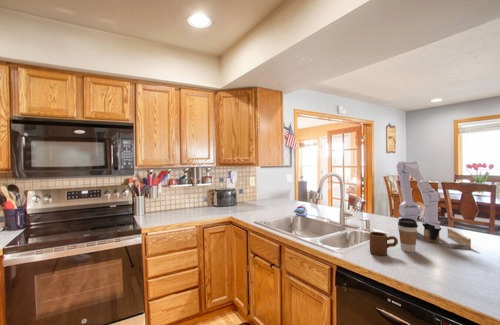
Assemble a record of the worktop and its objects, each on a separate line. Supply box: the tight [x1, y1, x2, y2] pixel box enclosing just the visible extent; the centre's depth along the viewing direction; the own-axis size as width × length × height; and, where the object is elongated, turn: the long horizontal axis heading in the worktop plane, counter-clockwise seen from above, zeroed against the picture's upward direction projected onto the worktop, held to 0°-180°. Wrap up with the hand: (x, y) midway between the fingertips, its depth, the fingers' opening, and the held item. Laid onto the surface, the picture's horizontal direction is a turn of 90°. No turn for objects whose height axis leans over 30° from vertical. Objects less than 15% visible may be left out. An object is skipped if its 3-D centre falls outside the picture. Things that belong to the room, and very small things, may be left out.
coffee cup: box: [397, 218, 419, 253], centre depth 120 cm, size 8×8×15 cm
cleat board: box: [439, 228, 472, 250], centre depth 130 cm, size 9×19×5 cm, turn 165°
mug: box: [369, 231, 399, 257], centre depth 116 cm, size 12×8×9 cm, turn 62°
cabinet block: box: [423, 228, 440, 244], centre depth 132 cm, size 6×4×7 cm
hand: (431, 238), depth 132 cm, fingers closed on cabinet block, 4 cm apart
